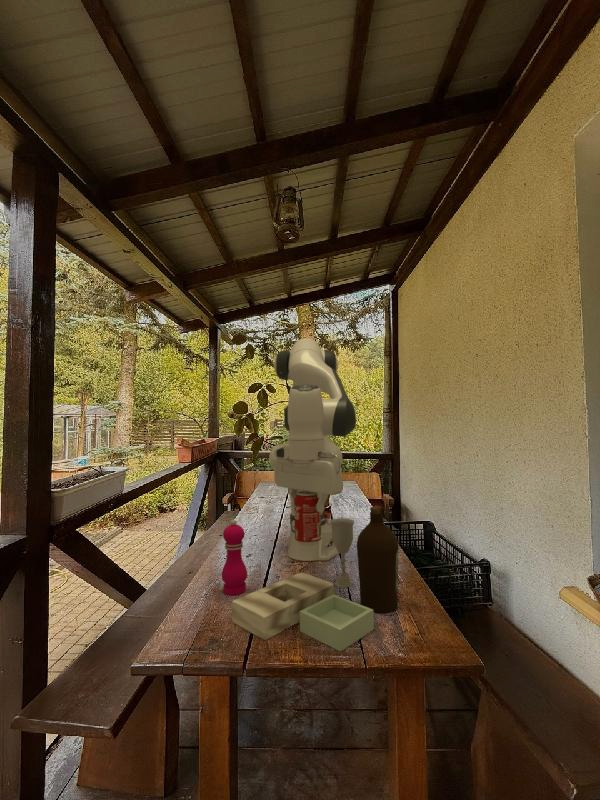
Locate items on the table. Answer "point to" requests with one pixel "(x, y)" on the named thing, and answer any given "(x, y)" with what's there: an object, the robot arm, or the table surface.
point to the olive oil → (378, 564)
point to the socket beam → (279, 604)
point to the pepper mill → (234, 560)
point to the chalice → (342, 546)
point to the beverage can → (307, 518)
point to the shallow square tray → (336, 621)
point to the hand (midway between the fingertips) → (307, 509)
